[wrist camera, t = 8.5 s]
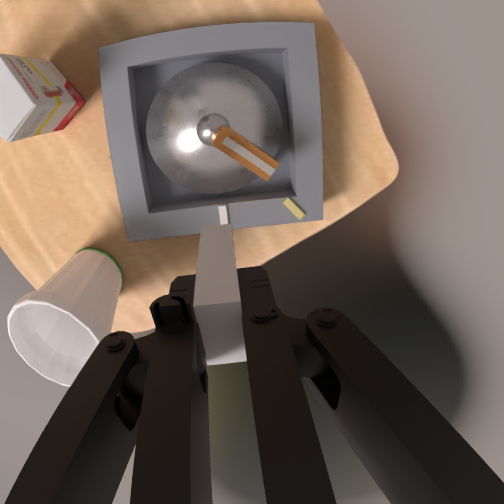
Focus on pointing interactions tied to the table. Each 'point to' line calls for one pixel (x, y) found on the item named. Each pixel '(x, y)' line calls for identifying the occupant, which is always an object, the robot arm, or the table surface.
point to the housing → (191, 54)
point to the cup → (67, 316)
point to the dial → (214, 128)
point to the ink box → (34, 98)
